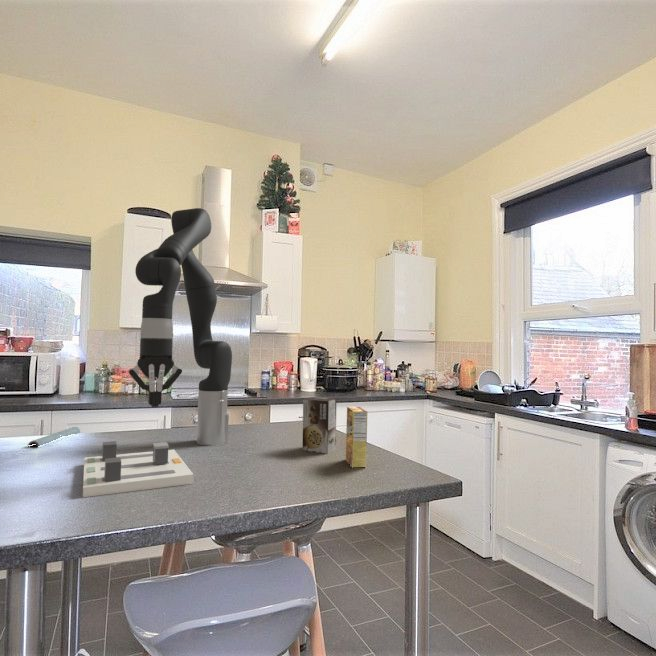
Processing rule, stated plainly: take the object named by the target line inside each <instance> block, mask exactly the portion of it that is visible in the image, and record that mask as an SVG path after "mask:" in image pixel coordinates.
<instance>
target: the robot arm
mask: <svg viewBox="0 0 656 656" xmlns="http://www.w3.org/2000/svg"><path fill="white" fill-rule="evenodd" d="M170 222H171V229H172V233H173V234H171V235H169V236H168V237H167V238H165V239H164V241H162V243H161V244H160V246H158V248H156V249H153V250H151V251H150V252H147V254H144V255H143V256H142V257H140V258H139V260H138V262H137V264H136V266H135V272H134V273H135V277H136V279H137V281H139V283H141V284H142V285H144V286H154V287H155V286H156V287H157V286H161V288H160V290H158V292H156V293H153V294H152V293H151V294H147V295H145V296H144V297H143V299H142V308H141V309H142V312H141V314H142V315H141V324H140V334H139V335H140V338H139V340H140V341H139V342H140V343H139V359H138V360H137V363H136V365H135V366H134V367H132V368H130V369H128V370H127V373H128V374H129V375H130V377H131V378H132V379H133V380H134V381H135V383H137V385H138V386H139V387H140V388H141V389H142V390H143V391H147V392H148V397H147V399H148V405H149V406H150V407H151V408H158V407H159V405H162V392H163V391H165V390H168V389H170V387H171V386H172V385H173V384H174V383H175V381H176V380H177V379H178V378H179V377H180V376H181V374H182V373H183V369H181V368H179V367H177V366H176V365H175V362H174V359H173V344H174V343H173V341H174V338H173V337H174V327H173V306H174V299H175V296H176V292H177V289H178V286H179V283H180V281H181V277H183V283H184V284H183V285H184V289H185V295H186V300H187V301H186V302H187V306H188V311H189V316H190V323H191V333H192V345H193V356H194V360H195V363H196V364H197V366H199V367H200V368H201V369H208V370H209V371H208V375H207V376H206V378H204V379H202V380H200V381H199V382H198V399H197V400H198V401H197V423H196V426H197V427H196V430H197V431H196V444H197V445H199V446H200V445H201V446H221V445H223V444H228V443H229V418H230V416H229V413H228V394H229V393H228V392H229V391H228V389H229V387H228V386H229V384H230V381H231V376H232V363H233V352H232V348H231V346H230V344H229V343H228V342H227V341H222V340H221V341H220V340H213V336H212V335H213V334H212V329H211V324H212V323H211V322H212V319H213V316H214V313H215V310H216V306H217V304H218V303H217V302H218V296H217V290H216V284H215V279H214V278H213V276H212V274H211V273H210V271H208V270H207V269H206V267H205V266H204V265H203V264H202V263H201V261H200V260H199V259H198V258H197V256H196V254H195V253H194V251H193V249H194V248H196V247H197V246H198V245H199V244H200V243H202V242H203V241H204V240H205V239H207V238H208V237H209V236H210V234H211V232H212V222H211V217H210V214H209V213H208V211H207V210H205V209H204V208H200V207H199V208H198V207H197V208H187V209H179V210H175V211H174V212H172V214H171V221H170ZM140 371H141V372H142V374H143V375H144V376H145V377H146V378H147V384H146V383H145V382H144V381H143V379H142V378H141V377H140V376H139V375H140V373H141V372H140ZM169 373H171V375H170V376H169V377H168V378H167V380H165V382H164V378H165V377H167V374H169Z"/></svg>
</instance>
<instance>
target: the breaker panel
mask: <svg viewBox="0 0 656 656" xmlns="http://www.w3.org/2000/svg"><path fill="white" fill-rule="evenodd" d="M101 452H102V453H101V454H102V455H97V456H90V457H89V456H88V457H84V461H83V481H82V482H83V483H82V498H88V497H95V496H96V497H98V496H103V495H104V496H105V495H112V494H120V493H128V492H137V491H146V490H154V489H161V488H170V487H179V486H185V485H193V484H194V473H193V472H192V470H191V469H190V468H189V467H188V465H187V464H186V463H185V462H184V460H183V459H182V458H181V456H180V455H179V453H177V451H176V450H175V449H168V463H164V464H154V462H153V450H152V451H145V452H143V451H142V452H133V453H132V452H131V453H123V454H122V453H121V454H120V453H119V454H117V440H116V441H115V440H114V441H102V451H101Z"/></svg>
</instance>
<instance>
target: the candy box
mask: <svg viewBox="0 0 656 656" xmlns="http://www.w3.org/2000/svg"><path fill="white" fill-rule="evenodd" d="M345 430H346V431H345V433H346V436H345V438H346V439H345V461H346V462H347V464H348V465H349V464H350V465H349V467H352V468H351V469H354V468H353V467H366V465H367V437H368V411H367V410H365V409H363V408H362V407H360V406H347V407H346V429H345Z"/></svg>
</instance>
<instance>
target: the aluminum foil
mask: <svg viewBox="0 0 656 656" xmlns="http://www.w3.org/2000/svg"><path fill="white" fill-rule="evenodd" d="M79 433H81V429H80V428H79V427H78V426H73V427H70V428H67V429H64V430H61V431H57V432H54V433H52V434H49V435H45V436H42V437H39V438H37V439H33V440H31V441H29V442H28V444H27V446H28V445H32V444H36V445H35V446H36V447H37V446H40V445H43V444H46V443H49V442H51V441H53V440H56V439H58V438H60V437H62V436H68V435H71V434H75V435H77V434H79ZM60 435H61V436H60Z"/></svg>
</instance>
